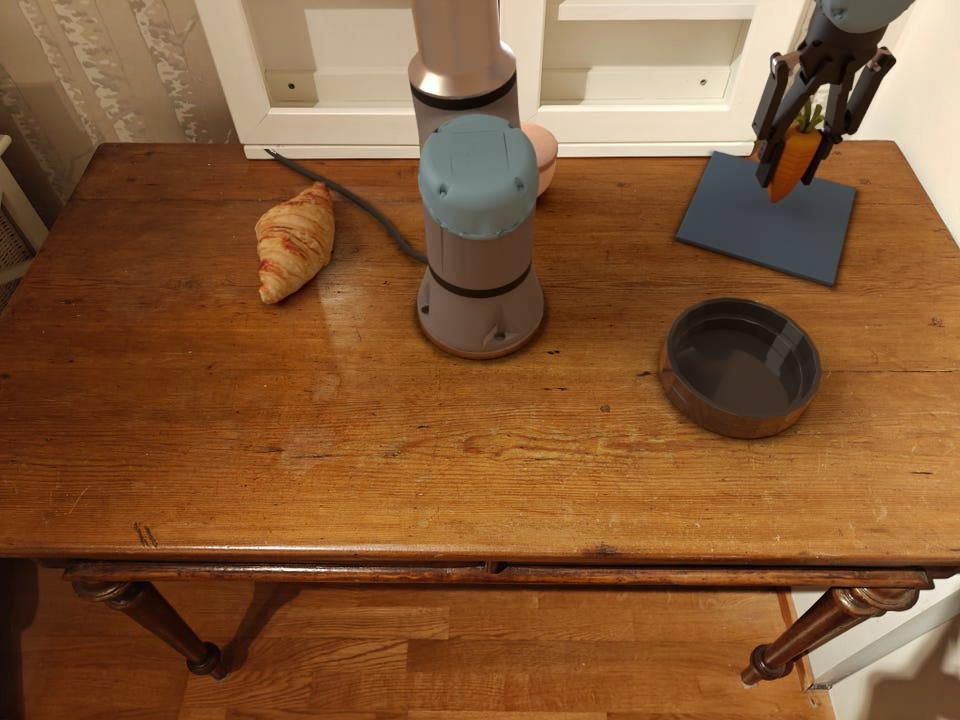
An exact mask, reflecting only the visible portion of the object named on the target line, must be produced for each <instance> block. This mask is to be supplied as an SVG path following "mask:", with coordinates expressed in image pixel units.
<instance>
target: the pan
mask: <svg viewBox="0 0 960 720" xmlns="http://www.w3.org/2000/svg"><path fill="white" fill-rule="evenodd" d="M820 357H821V356H820V352H819V350H818V348H817V346H816V345H815V343H814V342H813V339H812V338H811V337H810V335H809V334H808V332H806V330H804V329H803V328H802V326H800V325H799V324H798V323H797V322H796V321H795V320H794V319H793V318H791V317H790V316H788V315H787V314H785V313H783V312H781V311H780V310H778V309H776V308H774V307H772V306H770V305H768V304H764V303H761V302H758V301H755V300H752V299H748V298H740V297H739V298H738V297H727V296H724V297H716V298H711V299H704V300H702V301H699V302H697V303H695V304H693V305H691V306H689V307H687V308H685V309H684V310H683V311H682V312H681V313H680V314H679V315H678V316H677V317H675V319H673V321H672V323H671V325H670V328H669V330H668V332H667V335H666V337H665V342H664V344H663V347H662V349H661V353H660V356H659V360H658V361H659V379H660V381H661V383H662V386H663V388H664V390H665V392H666V395H667V397H668V399H670V401H671V402H672V403H673V404H674V406H675V407H676V408H677V409H678V410H679V412H680V413H681V414H682V415H684V416H686V418H688V419H690V420H691V421H693V422H694V423H695V424H697V425H699V426H700V427H701V428H703V429H706V430H709V431H711V432H713V433H717V434H719V435H722V436H725V437H731V438H741V439H751V440H752V439H758V438H764V437H769V436H774V435H776V434H778V433H780V432H782V431H784V430H786V429H789V427H791V426H793V425H794V424H795V422H796V421H797V420H798V419H799V417H800V416H801V415H802V414H803V412H804V411H805V410H806V408H807V407H808V405H809V403H810V402H811V401H812V399H813V398H814V396H815V395H816V394H817V392H818V391H819V388H820V383H821V378H822V375H823V367H822V363H821V362H822V361H821V358H820Z"/></svg>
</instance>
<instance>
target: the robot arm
mask: <svg viewBox="0 0 960 720" xmlns="http://www.w3.org/2000/svg"><path fill="white" fill-rule="evenodd" d="M813 2H815V6H814V8H813V11H812V14H811V17H810V20H809V21H808V27H807V30H806V31H807V32H806V35H805V37H804V38H803V40H802V41H801V42H800V43H799V44H798V45H797V48H796V50H794V51H791V52H788V53H785V54H782V53H781V52H780V51H775V52H773V53H771V55H770V56H769V74H768V77H767V80H766V82H765V86H764V89H763V91H762V94H761V97H760V100H759V103H758V106H757V109H756V111H755V113H754V117H753V120H752V122H751V129H752V131H753V133H754V134H755V137H756V138H757V140H758V141H761V142H760V146H759V148H758V150H757V153H756V155H757V159H758V160H759V162H760V163H759V166H758V169H757V171H756V174H755V175H756V177H757V179H758V181H759V183H760V185H761V187H762V188H768V186H769V183H770V181H771V178H772V176H773V173H774V171H775V168H776V166H777V163H778V161H779V158H780V156H781V154H782V151H783V149H784V146H785V144H784V142H783V140H782V137H783V136H784V134H785V133H786V131H787V130H788V128H789V127H790V125H791V124H792V123H794V121H795V120H796V119H795V118H796V117H797V115H798V114H799V112H801V111H802V109H804V105H805V103H806V102H807V100H808V99H809V97H810V98H811V96H814V95H815V94H816V93H817V92H818V91H819V89H820V87H822V86H825V85H828V84H829V88H828V95H827V101H826V107H825V113H824V117H825V119H824V120H823V124H822V128H823V129H822V128H816V129H817V131H818V132H819V133H820V135H821V136H822V139H821V142H820V144H819V146H818V149H817V151H816V153H815V155H814V157H813V158H812V160H811V162H810V164H809V166H808V168H807V169H806V171H805V173H804V174H803V176H802V177H801V181H802V183H803V185H804V186H806V185H810V183H811V181H812V179H813V177H815V175H816V173H817V170H818V169H819V167H820V164H821V162H822V161H825V160H826V159H827V158H828V157H829V156H830V154H831V152H832V150H833V148H834V145H836V146H837V145H840V144H842V142H843V140H844V138H843V136H844V135H848V136H853V135H855V134H857V132H858V130H859V128H860V127H861V124H862V122H863V120H864V118H865V117H866V114H867V112H868V111H869V108H870V106H871V104H872V102H873V100H874V98H875V96H876V94H877V92H878V91H879V89H880V88H879V87H880V86H881V84H882V81H883V80H884V78H885V77H886V76H887V74H888V73H890V71H891V70H892V69H893V68H894V66H895V65H896V64H897V61H898V60H897V58H896V57H895V55H894V54H893V53H892V52H891V50H889V48H888V46H885V45H882V46H880V47H878V45H879V44H880V42H881V41H882V40H883V39H884V36H885V34H886V32H887V29H888V27H889V26H890V24H891V23H893V22H895V20H897V19H899V17H901V16H902V15H903V13H904V12H906V11H907V10H909V8H910V7H911V6H912V5H913V4H914V3H915V2H916V0H813ZM409 3H410V9H411V15H412V22H413V26H414V27H413V28H414V33H415V39H416V45H417V51H416V53H415V54H414V55H413V57H412V58H411V59H410V62H409V63H408V66H407V75H408V81H409V88H410V92H411V98H412V103H413V109H414V116H415V121H416V127H417V134H418V145H419V146H418V147H419V166H418V171H417V183H418V191H419V194H420V197H421V201H422V202H421V204H422V213H423V224H424V234H425V235H424V236H425V245H426V254H427V256H426V255H424V254H421V253H419V252H417V251H416V250H414V248H412V247H411V246H410V245H408V243H407V242H406V241H405V240H404V239H403V237H402V236H401V235H400V233H398V231H397V230H396V229H395V227H394V226H393V225H392V223H390V222H389V220H387V218H386V217H385V216H384V215H382V213H380V211H378V210H376V209H375V207H373V206H372V205H370V203H368V202H366V201H365V200H364V199H362V198H361V197H360V196H357V195H356V194H354V193H353V192H352V191H349V190H347V189H346V188H344V187H343V186H341V185H339V184H337V183H335V182H333V181H331V180H330V179H327V178H325V177H323V176H321V175H319V174H316V173H315V172H312V171H310V170H308V169H307V168H304V167H303V166H301V165H299V164H298V163H296V162H294V161H292V160H290V159H288V158H287V157H285V156H283V155H281V154H280V153H279V152H277V151H275V150H274V149H272V150H273V151H274V152H276V154H275V153H273V152H271V151H270V150H269V149H263V151H265V152H266V153H267V154H268V155H270V156H271V157H272V158H274V159H275V160H276V161H279V162H280V163H282V164H283V165H286V166H287V167H289V168H291V169H292V170H294V171H296V172H298V173H299V174H301V175H303V176H305V177H307V178H308V179H309V178H310V179H311V180H314V181H315V182H317V181H318V182H325V183H326V184H327V186H328V188H331V189H332V190H334V191H336V192H338V193H339V194H341V195H342V196H344V197H346V198H348V199H349V200H351V201H352V202H354V203H355V204H357V205H358V206H360V207H361V208H362V209H364V210H365V211H367V212H368V214H370V215H371V216H373V217H374V218H375V219H376V220H377V221H378V222H380V223H381V225H382V226H383V227H384V228H385V229H386V230H387V232H388V233H389V234H390V235H391V237H392V238H393V239H394V240H395V242H396V243H397V244H398V245H399V246H400V248H401V249H402V250H403V251H404V252H405V254H408V256H410V257H411V258H412V259H415V260H416V261H419V262H421V263H424V264H426V265H427V266H426V269H425V272H424V275H423V278H422V280H421V283H420V286H419V289H418V293H417V298H416V310H417V318H418V322H419V325H420V327H421V330H422V332H423V333H424V335H425V336H426V337H427V339H428V340H429V341H430V342H431V343H432V344H434V345H435V346H436V347H437V348H438V349H440V350H442V351H444V352H445V353H448V354H451V355H452V356H457V357H459V358H463V359H468V360H469V359H470V360H490V359H491V360H492V359H496V358H501V357H504V356H507V355H510V354H513V353H514V352H517V351H518V350H520V349H521V348H523V347H524V346H526V345H527V344H528V343H529V342H530V341H531V340H532V339H533V338H534V337H535V336H536V334H537V333H538V331H539V330H540V327H541V324H542V322H543V317H544V309H545V300H544V293H543V289H542V286H541V284H540V282H539V279H538V276H537V274H536V271H535V268H534V265H533V262H532V261H533V250H534V249H533V248H534V236H535V222H536V209H537V208H536V207H537V199H538V197H539V196H538V191H539V169H538V162H537V156H536V152H535V149H534V147H533V145H532V143H531V141H530V140H529V138H528V137H527V135H526V134H525V133H524V132H523V131H522V130H521V125H520V121H521V118H520V117H521V116H520V108H519V88H518V87H519V86H518V73H517V72H518V71H517V58H516V55H515V53H514V51H513V49H512V48H511V47H510V46H509V45H508V44H507V43H506V42H504V41H502V40H501V30H500V29H501V28H500V16H499V15H500V13H499V1H498V0H409ZM798 64H799V66H800V67H799V68H798V70H797V72H796V73H795V74H794V69H795V67H796V66H797V65H798ZM861 69H862V71H861V72H860V75H859V77H858V79H857V81H856V84H855V86H854V82H855V76H856V74H857V72H859V71H860V70H861ZM793 74H794V77H793V78H794V79H793V83H792V84H791V86H790V87H789V89H788V90H787V92H786V89H787V87H788V82H789V77H792V76H793ZM785 92H786V93H785ZM850 92H851V94H850ZM537 196H538V197H537Z"/></svg>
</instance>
